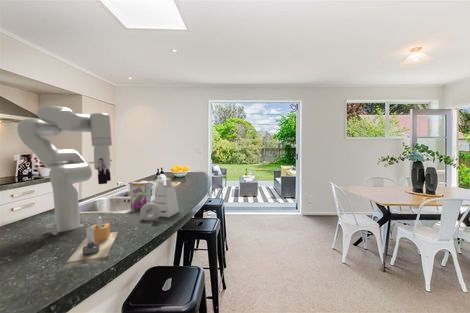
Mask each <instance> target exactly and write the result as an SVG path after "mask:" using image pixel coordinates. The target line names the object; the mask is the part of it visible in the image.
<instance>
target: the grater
mask: <svg viewBox="0 0 470 313" xmlns="http://www.w3.org/2000/svg"><path fill="white" fill-rule="evenodd" d="M165 181H166V182H165ZM164 183H165V184H164ZM172 183H173V182H172V179H171V178H167V177H166V178H162V179H161V178H160V179H158V182H157V187H155V191H154V202H153V203H155V204H157V205H158V206H159V208H160V215H159V217H161V216H162V217H163V218H170V217H172V216H174V215H176V214H178V213H180V208H179V204H178V203H179V202H178V197H177V192H176V188H175V187H176V186H175V185H173V184H172ZM152 211H153V210H152ZM153 213H154V211H153V212H152V214H153ZM162 217H161V218H162Z"/></svg>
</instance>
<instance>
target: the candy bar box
mask: <svg viewBox="0 0 470 313" xmlns="http://www.w3.org/2000/svg"><path fill="white" fill-rule="evenodd" d="M129 195H130V209H132V210H141V208H142V207H143V206H144V205H145V204H147V203H151V183H150V182H149V181H148V182H146V181H145V182H143V181H133V182H130V183H129Z"/></svg>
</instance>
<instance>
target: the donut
mask: <svg viewBox="0 0 470 313" xmlns="http://www.w3.org/2000/svg"><path fill="white" fill-rule="evenodd" d="M157 204H158V203H157ZM157 204H155V203H154V202H150V203H147V204H145V205H144V206H143V207H142V208H141V209H139V214H140V215H139V216H140V218H141V219H142V220H143V221H152V222H155V221H157V219H159V217H160V216H159V215H160V208H159V206H158V205H157ZM149 210H152V211H154V213H153V212H152V214H150V215H149V214H148V211H149Z"/></svg>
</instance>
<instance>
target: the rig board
mask: <svg viewBox="0 0 470 313" xmlns="http://www.w3.org/2000/svg"><path fill="white" fill-rule="evenodd" d="M118 234H119V231H112V232H110V236H109V238H108V240H103V241H95V242H94V244H98V245H99V252H98V253H96V254H94V255H89V256H84V255H83V247H85V246H87V236H86V237H85V238H84V240H83V241H82V242H81V243H80V244H79V245H78V247H77V249H75V251H74V252H73V253H72V255H71V256H70V257H69V259H68V260H67V261H66V267H73V266H78V265H79V266H80V265H85V264H92V263H99V262H107V260H108V258H109V256H108V254H109V252H110V250H111V249H112V248H111V247H112V246H113V244H114V242H115V239H116V238H117V236H118Z"/></svg>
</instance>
